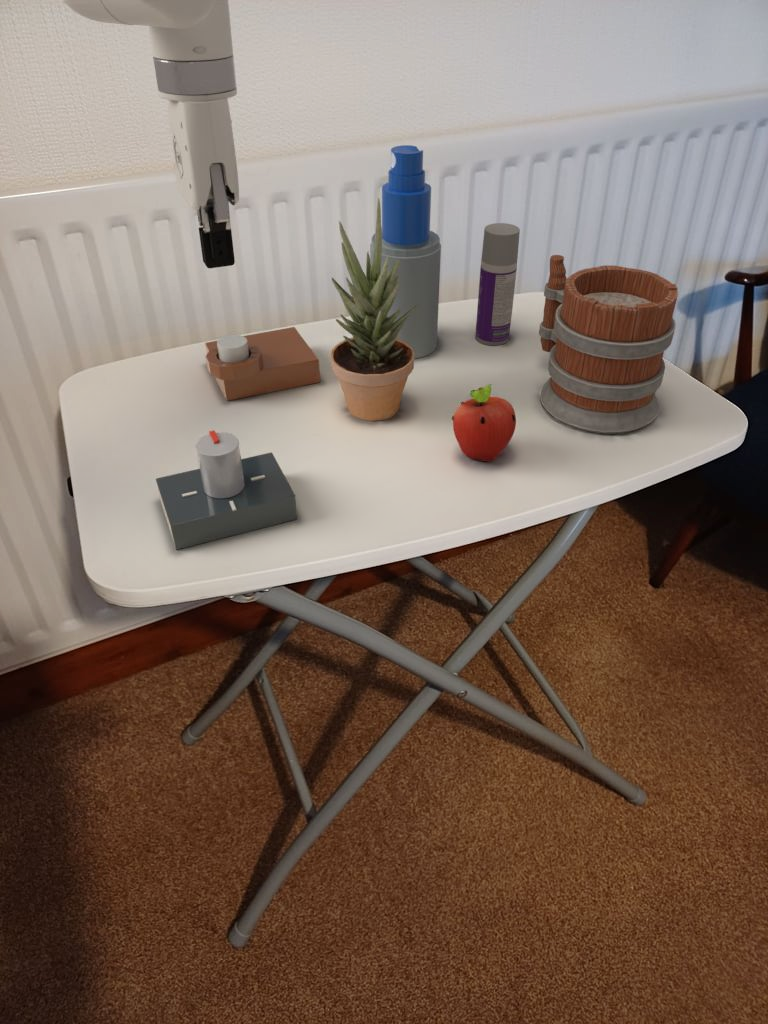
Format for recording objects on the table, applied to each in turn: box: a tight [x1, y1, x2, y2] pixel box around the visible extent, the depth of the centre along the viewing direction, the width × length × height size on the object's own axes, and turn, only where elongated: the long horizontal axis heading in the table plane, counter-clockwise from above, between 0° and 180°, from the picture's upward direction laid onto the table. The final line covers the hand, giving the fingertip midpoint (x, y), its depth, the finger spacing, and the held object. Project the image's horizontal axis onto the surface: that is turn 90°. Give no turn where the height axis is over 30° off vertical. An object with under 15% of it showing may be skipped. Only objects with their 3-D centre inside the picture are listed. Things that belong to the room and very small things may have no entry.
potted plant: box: [330, 197, 419, 422], centre depth 86 cm, size 10×10×25 cm
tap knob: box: [195, 430, 245, 498], centre depth 75 cm, size 4×4×5 cm
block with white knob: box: [204, 326, 321, 402], centre depth 98 cm, size 13×11×5 cm
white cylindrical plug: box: [216, 334, 249, 363], centre depth 94 cm, size 4×4×2 cm
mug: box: [538, 254, 679, 435], centre depth 92 cm, size 14×19×15 cm
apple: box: [451, 384, 517, 463], centre depth 83 cm, size 8×7×10 cm
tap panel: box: [155, 452, 298, 551], centre depth 78 cm, size 12×8×3 cm
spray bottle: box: [369, 144, 442, 360], centre depth 99 cm, size 9×9×25 cm
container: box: [474, 222, 521, 346], centre depth 104 cm, size 5×5×15 cm
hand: (219, 264), depth 87 cm, fingers closed
